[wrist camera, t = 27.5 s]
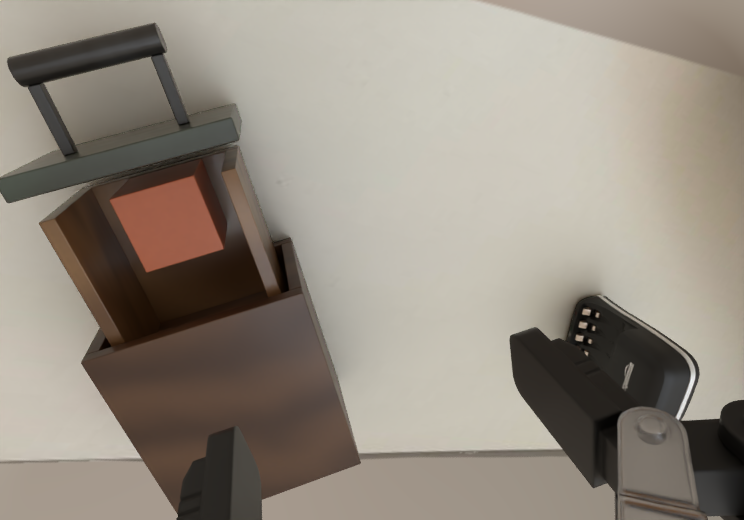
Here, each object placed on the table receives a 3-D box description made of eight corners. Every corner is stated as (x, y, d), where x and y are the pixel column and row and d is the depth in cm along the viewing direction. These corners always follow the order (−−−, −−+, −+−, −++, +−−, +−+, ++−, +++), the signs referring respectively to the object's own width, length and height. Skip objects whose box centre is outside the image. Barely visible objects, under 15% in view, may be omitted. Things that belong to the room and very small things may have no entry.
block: (128, 178, 29) (108, 199, 25) (201, 158, 29) (193, 174, 25) (160, 244, 31) (146, 273, 27) (228, 223, 31) (224, 249, 27)
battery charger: (570, 293, 44) (667, 366, 33) (605, 291, 44) (710, 362, 34) (554, 356, 46) (639, 441, 36) (587, 353, 47) (679, 435, 37)
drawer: (5, 66, 26) (-75, 70, 20) (206, 18, 27) (193, 7, 21) (147, 330, 34) (123, 394, 28) (297, 283, 36) (307, 334, 29)
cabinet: (120, 288, 34) (80, 363, 25) (290, 237, 35) (303, 292, 27) (198, 432, 40) (185, 528, 32) (339, 383, 41) (361, 464, 33)
